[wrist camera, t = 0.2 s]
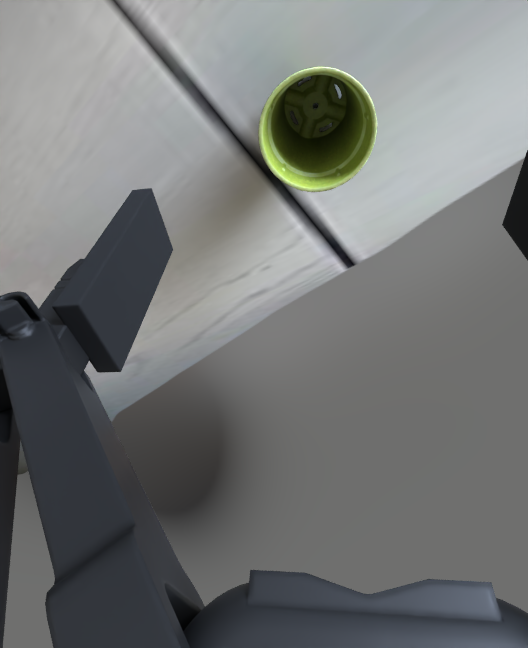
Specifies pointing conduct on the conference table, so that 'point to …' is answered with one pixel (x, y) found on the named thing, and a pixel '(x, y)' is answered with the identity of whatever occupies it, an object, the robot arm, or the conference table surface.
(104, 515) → the robot arm
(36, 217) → the conference table surface
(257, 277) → the conference table surface
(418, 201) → the conference table surface
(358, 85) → the plant pot
